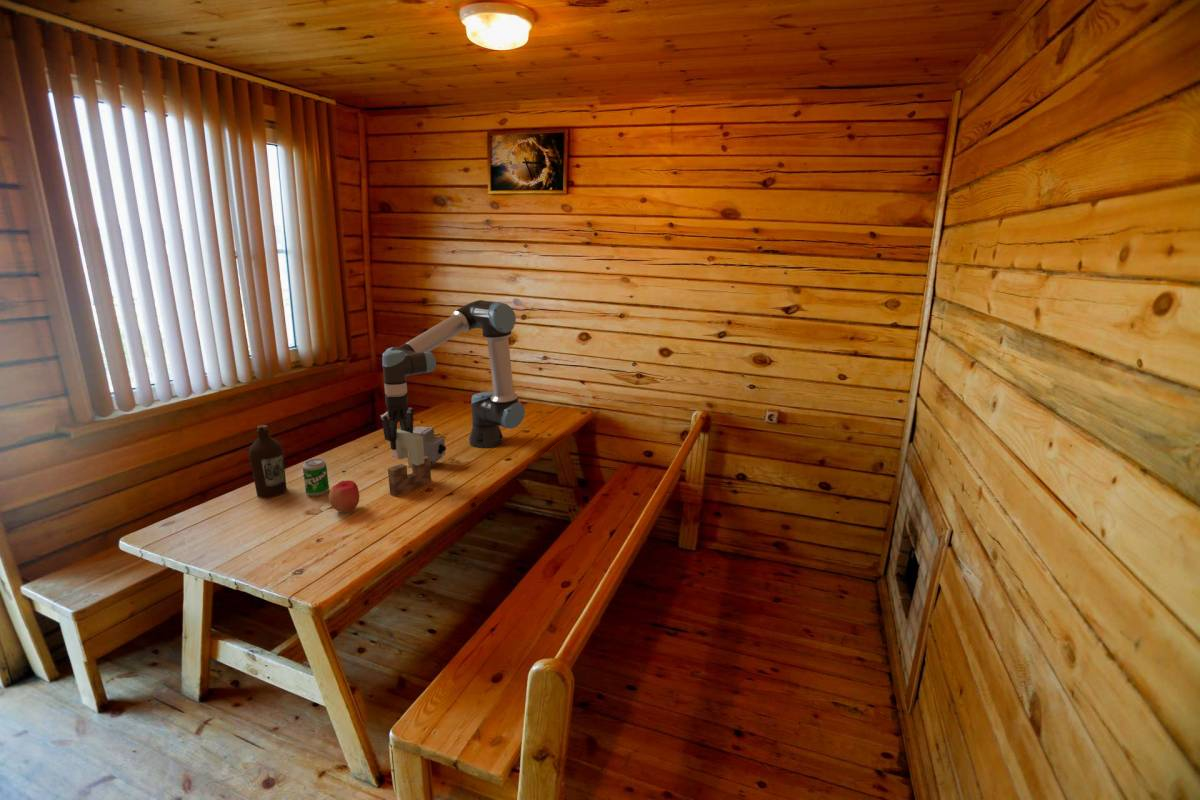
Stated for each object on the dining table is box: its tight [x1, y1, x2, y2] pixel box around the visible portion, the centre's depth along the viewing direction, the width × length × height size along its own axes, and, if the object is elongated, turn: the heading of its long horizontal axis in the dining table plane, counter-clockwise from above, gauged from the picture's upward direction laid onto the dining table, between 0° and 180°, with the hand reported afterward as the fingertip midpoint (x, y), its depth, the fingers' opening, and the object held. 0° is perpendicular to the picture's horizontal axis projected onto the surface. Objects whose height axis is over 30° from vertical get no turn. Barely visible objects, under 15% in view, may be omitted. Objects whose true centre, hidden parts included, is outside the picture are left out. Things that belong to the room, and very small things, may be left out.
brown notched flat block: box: [387, 456, 432, 497], centre depth 211 cm, size 16×3×10 cm, turn 145°
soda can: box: [302, 458, 330, 497], centre depth 206 cm, size 8×8×12 cm
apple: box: [328, 480, 360, 513], centre depth 193 cm, size 10×10×10 cm
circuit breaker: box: [407, 426, 447, 469], centre depth 232 cm, size 8×14×15 cm, turn 78°
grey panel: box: [396, 428, 424, 465], centre depth 208 cm, size 14×3×10 cm, turn 55°
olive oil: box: [248, 424, 288, 499], centre depth 204 cm, size 11×11×25 cm
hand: (400, 455), depth 212 cm, fingers closed on grey panel, 3 cm apart
